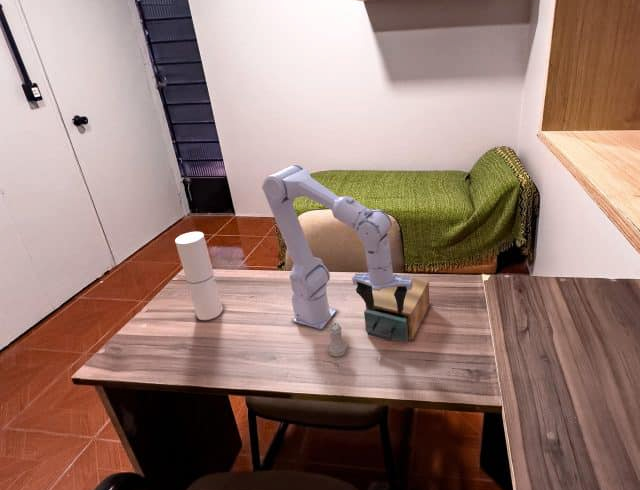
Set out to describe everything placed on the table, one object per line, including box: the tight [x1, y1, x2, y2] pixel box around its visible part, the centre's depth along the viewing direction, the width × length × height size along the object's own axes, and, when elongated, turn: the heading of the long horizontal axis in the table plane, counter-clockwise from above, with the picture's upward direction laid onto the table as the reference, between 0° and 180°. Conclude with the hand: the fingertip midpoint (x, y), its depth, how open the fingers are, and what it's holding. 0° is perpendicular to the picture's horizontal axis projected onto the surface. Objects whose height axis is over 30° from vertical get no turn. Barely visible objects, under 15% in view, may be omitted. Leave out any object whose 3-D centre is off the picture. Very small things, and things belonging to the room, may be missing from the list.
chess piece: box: [327, 322, 348, 357], centre depth 97 cm, size 4×4×8 cm
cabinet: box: [364, 274, 430, 341], centre depth 107 cm, size 15×13×9 cm
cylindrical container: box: [174, 231, 224, 321], centre depth 111 cm, size 7×7×25 cm
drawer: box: [363, 308, 409, 344], centre depth 103 cm, size 18×11×7 cm, turn 156°
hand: (385, 309), depth 96 cm, fingers open, 7 cm apart
